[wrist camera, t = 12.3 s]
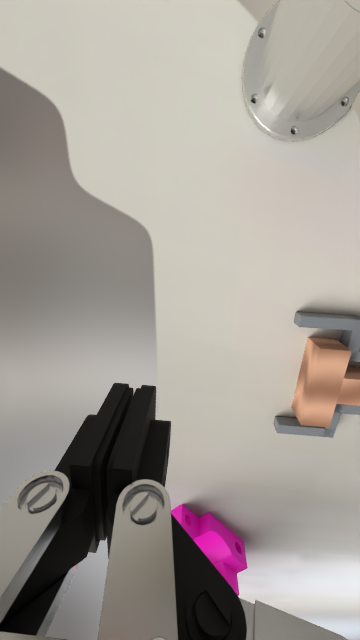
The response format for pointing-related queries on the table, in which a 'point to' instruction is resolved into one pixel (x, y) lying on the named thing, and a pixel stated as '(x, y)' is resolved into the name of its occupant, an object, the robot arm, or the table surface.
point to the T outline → (356, 338)
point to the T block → (325, 382)
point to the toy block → (215, 543)
